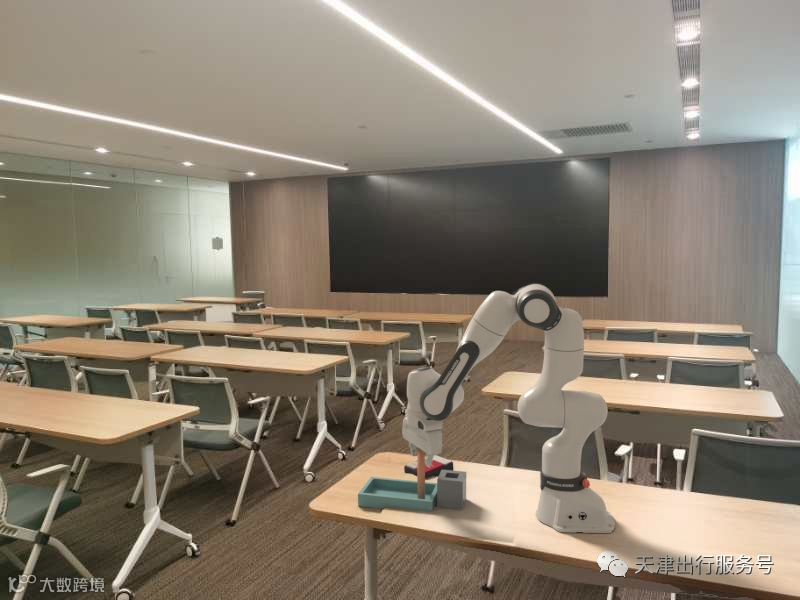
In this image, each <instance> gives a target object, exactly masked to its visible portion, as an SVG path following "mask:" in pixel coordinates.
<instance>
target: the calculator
mask: <svg viewBox="0 0 800 600" xmlns="http://www.w3.org/2000/svg"><path fill="white" fill-rule="evenodd" d="M426 458H427V456H425V459H426ZM403 469H404V470H403V471H404V474H409V475H410V474H411V475H414V476H416V477H417V459H416V460H415V461H411V462H409V463H406V464H405V465H404V468H403ZM441 470H452V471H454V462H453V461H452V460H449V459H447V458H444V457H443V456H439V455H434V457H433V459H432V465H431V466H427V465H426V464H425V480H426V479H428V478H432V477H438V476H439V474H440V472H441Z"/></svg>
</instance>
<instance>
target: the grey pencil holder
mask: <svg viewBox="0 0 800 600" xmlns="http://www.w3.org/2000/svg"><path fill="white" fill-rule="evenodd" d="M436 479H437V480H436V483H437V501H436V505H437V506H436V508H439V509H447V510H448V509H450V510H459V511H464V508H465V504H466V501H467V471H462V470H460V471H459V470H453V471H452V470H441V472H440V474H439V476H437V478H436Z"/></svg>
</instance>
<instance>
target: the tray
mask: <svg viewBox="0 0 800 600" xmlns="http://www.w3.org/2000/svg"><path fill="white" fill-rule="evenodd" d="M436 505H437V482H430V481H429V482H428V481H425V499H418V483H417V480H408V479H397V478H389V477H386V478H385V477H378V476H377V477H376V476H370V477H369V479H368V480H367V481H366V482H365V485H364V486H363V487H362V488H361V489H360V491H359V492H358V493H357V507H364V508H372V509H381V510H383V509H385V508H386V507H389V508H399V509H407V510H416V511H427V512H433V511H434V508H435V506H436Z"/></svg>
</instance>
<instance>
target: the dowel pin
mask: <svg viewBox="0 0 800 600" xmlns="http://www.w3.org/2000/svg"><path fill="white" fill-rule="evenodd" d="M425 457H426V452H424V451H423V450H421V449H418V450H417V456H416V458H417V459H416V460H417V476H416V478H417V479H416V481H417V483H418V499H425V482H426V479H425Z"/></svg>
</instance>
